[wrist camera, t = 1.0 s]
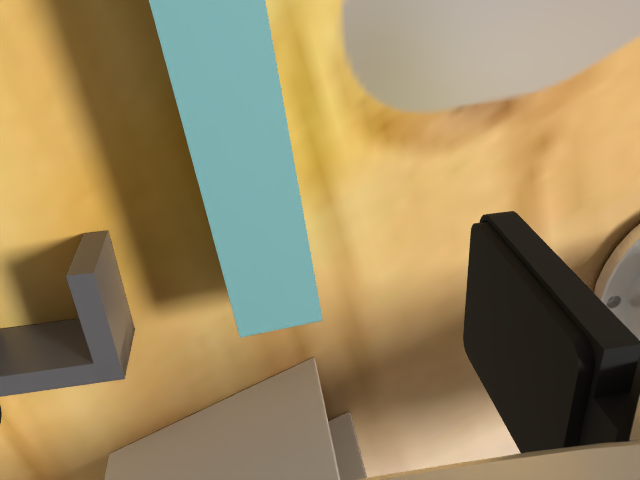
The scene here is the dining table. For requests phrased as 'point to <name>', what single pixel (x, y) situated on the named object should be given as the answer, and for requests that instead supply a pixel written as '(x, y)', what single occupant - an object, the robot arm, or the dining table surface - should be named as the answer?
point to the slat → (241, 156)
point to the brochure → (251, 438)
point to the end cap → (74, 330)
